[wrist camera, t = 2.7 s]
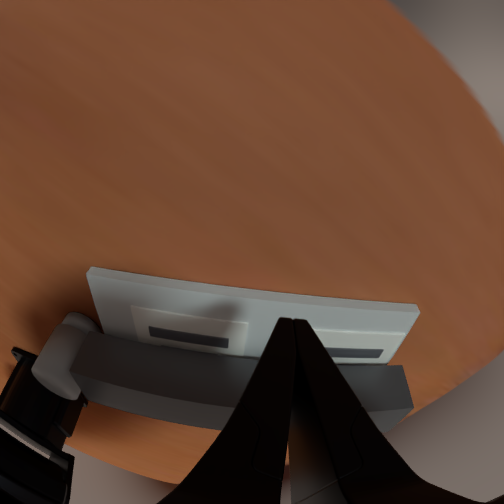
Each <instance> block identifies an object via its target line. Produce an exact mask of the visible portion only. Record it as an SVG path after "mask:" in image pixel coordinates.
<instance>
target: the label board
mask: <svg viewBox="0 0 504 504" xmlns="http://www.w3.org/2000/svg"><path fill="white" fill-rule="evenodd" d="M86 276H87V280H88V283H89V287H90V290H91V294H92V297H93V300H94V304H95V307H96V310H97V313H98V316H99V319H100V322H101V325H102V328H103V331H104V334H105V335H110V336H114V337H118V338H123V339H127V340H132V341H137V342H141V343H146V344H151V345H157V346H162V347H167V348H173V349H179V350H185V351H191V352H197V353H204V354H211V355H218V356H226V357H234V358H243V359H252V360H259V359H260V357H261V354H262V352H263V350H264V348H265V346H266V344H267V342H268V340H269V338H270V335H271V333H272V331H273V329H274V327H275V325H276V322H277V320H278V318H279V317H287V318H292V320H293V319H294V318H298V319H306V320H307V321H308V322H309V324H310V325H311V327H312V328H313V330H314V331H315V333H316V334H317V336H318V338H319V339H320V341H321V342H322V344H323V345H324V347H325V348H326V350H327V351H328V353H329V354H330V356H331V357H332V359H333V361H334V362H335V364H336V365H346V366H386V365H387V364H388V362H389V361H390V359H391V358H392V357H393V355H394V354H395V352H396V351H397V349H398V348H399V346H400V345H401V343H402V341H403V340H404V338H405V337H406V335H407V334H408V332H409V330H410V329H411V327H412V325H413V324H414V322H415V321H416V319H417V317H418V315H419V314H420V311H419V309H418V307H417V305H416V304H405V303H391V302H377V301H365V300H353V299H341V298H330V297H320V296H309V295H299V294H290V293H280V292H271V291H262V290H254V289H245V288H237V287H229V286H221V285H213V284H205V283H198V282H190V281H183V280H176V279H169V278H162V277H155V276H148V275H142V274H135V273H129V272H122V271H116V270H110V269H104V268H98V267H92V266H91V268H90V269H89V270H88V272H87V273H86ZM61 324H67V325H70V326H73V327H75V328H77V329H78V330H80V331H82V332H83V333H84V334H86V335H87V334H88V332H89V331H93V332H97V333H101V331H100V329H99V327H98V326H97V325H96V324H95V323H94V322H93V321H92V320H91V319H90V318H88V317H87V316H85V315H83V314H80V313H77V312H70V313H68V314H67V315H66V317H65V319H64V320H63V322H62V323H61Z"/></svg>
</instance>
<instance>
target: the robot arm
mask: <svg viewBox="0 0 504 504" xmlns="http://www.w3.org/2000/svg"><path fill="white" fill-rule="evenodd" d="M11 352H12V354H13V356H14V357H15V358H16V360H17V361H18V363H17V365H16V367H15V368H14V370H13V372H12V374H11V376H10V377H9V379H8V381H7V383H6V385H5V387H4V389H3V391H2V393H1V395H0V423H1V424H2V425H4V426H5V427H6V428H8V429H9V430H10V431H12V432H13V433H15V434H16V435H17V436H19V437H20V438H22V439H23V440H25V441H26V442H28V443H29V444H31V445H33V446H34V447H36V448H37V449H39V450H41V451H42V452H44V453H46V454H48V455H49V456H50V458H49V459H47V458H46V457H44V456H42V455H41V454H39V453H37V452H36V451H34V450H32V449H31V448H29V447H28V446H26V445H25V444H23V443H22V442H20V441H18V440H17V439H16V438H14V437H12V436H11V435H10V434H8V433H7V432H6V431H4V430H3V429H1V428H0V504H69V500H70V494H71V483H72V475H73V467H74V458H75V457H74V456H72V455H70V454H68V453H65V452H63V451H62V448H63V445H64V442H65V439H66V437H71V436H72V434H73V431H74V428H75V425H76V423H77V420H78V418H79V415H80V412H81V410H82V407H87V405H88V402H87V401H86V399H85V398H84V396H83V395H82V393H81V392H80V394H79V396H78V399H76V400H70V399H66V398H63V397H61V396H59V395H57V394H55V393H53V392H52V391H50V390H49V389H47V388H46V387H45V386H43V385H42V384H41V383H40V382H39V381H38V380H37V379H36V378H35V376H34V375H33V373H32V370H31V369H32V367H33V365H34V363H35V361H36V360H37V358H38V357H36V356H34V355H31V354H29V353H26V352H24V351H21V350H19V349H17V348H14V347H13V349H12V350H11ZM361 406H362V404H361V402H360V401H359V399H358V398H357V396H356V394H355V393H354V391H353V390H352V388H351V387H350V385H349V384H348V382H347V381H346V379H345V377H344V376H343V374H342V373H341V371H340V370H339V368H338V367H337V365H336V364H335V362H334V361H333V359H332V357H331V356H330V354H329V353H328V351H327V350H326V348H325V347H324V345H323V344H322V342H321V341H320V339H319V338H318V336H317V334H316V333H315V331H314V330H313V328H312V327H311V325H310V324H309V322H308V321H307V320H306V319H298V318H294V319H293V320H292V318H287V317H279V318H278V320H277V322H276V325H275V327H274V329H273V331H272V333H271V335H270V338H269V340H268V342H267V344H266V346H265V348H264V350H263V352H262V354H261V357H260V359H259V361H258V363H257V365H256V367H255V369H254V371H253V373H252V375H251V377H250V379H249V381H248V383H247V385H246V387H245V389H244V391H243V393H242V395H241V397H240V399H239V402H238V403H237V405H236V407H235V409H234V411H233V413H232V414H231V416H230V418H229V420H228V421H227V423H226V425H225V427H224V428H223V430H222V431H221V432H220V434H219V435H218V437H217V438H216V440H215V441H214V442H213V444H212V445H211V446H210V448H209V449H208V450H207V451H206V453H205V454H204V455H203V457H202V458H201V459H200V460H199V462H198V463H197V464H196V465H195V467H194V468H193V469H192V470H191V472H190V473H189V474H188V475H187V476H186V477H185V479H184V480H183V481H182V482H181V483H180V484H179V485H178V486H177V487H176V488H175V489H174V490H173V491H172V492H170V493H169V494H168V495H167V496H166V497H164V498H163V499H162V500H161V501H159V502H158V503H157V504H280V497H281V487H282V480H283V474H284V466H285V459H286V451H287V443H288V449H289V467H290V484H291V504H504V495H502V496H499V497H497V498H495V499H493V500H491V501H488V502H486V503H484V502H477V501H473V500H471V499H468V498H465V497H463V496H460V495H457V494H455V493H452V492H450V491H447V490H445V489H442V488H440V487H437V486H435V485H433V484H430V483H428V482H426V481H425V480H423V479H422V478H420V477H419V476H418V475H417V474H416V473H415V472H414V471H413V470H412V469H411V468H410V467H409V466H408V465H407V463H406V462H405V461H404V460H403V459H402V457H401V456H400V455H399V454H398V453H397V451H396V450H395V449H394V448H393V447H392V446H391V444H390V443H389V442H388V441H387V439H386V438H385V437H384V435H382V433H381V432H380V430H379V429H378V428H377V426H376V425H375V423H374V422H373V420H372V419H371V417H370V416H369V414H368V413H367V411H366V410H365V408H364V407H363V406H362V407H361Z"/></svg>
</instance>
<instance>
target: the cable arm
mask: <svg viewBox="0 0 504 504" xmlns="http://www.w3.org/2000/svg"><path fill="white" fill-rule="evenodd" d="M258 361H259V360H252V359H243V358H234V357H226V356H218V355H211V354H204V353H197V352H191V351H185V350H179V349H173V348H167V347H162V346H157V345H151V344H146V343H141V342H137V341H132V340H127V339H123V338H118V337H114V336H110V335H105V334H101V333H97V332H93V331H89V332H88V334H87V335H86V334H84V333H83V332H82V331H80V330H78V329H77V328H75V327H73V326H70V325H67V324H58V325H57V326H56V327H55V329H54V330H53V332H52V334H51V335H50V337H49V339H48V340H47V342H46V344H45V345H44V347H43V349H42V351H41V352H40V354H39V356H38V358H37V360H36V361H35V363H34V365H33V367H32V369H31V370H32V373H33V375H34V376H35V378H36V379H37V380H38V381H39V382H40V383H41V384H42V385H43V386H45V387H46V388H47V389H49V390H50V391H52V392H53V393H55V394H57V395H59V396H61V397H63V398H66V399H70V400H76V399H78V396H79V394H80V392H81V391H82V392H83V394H84V396H85V397H86V398H87V400H89V401H92V402H95V403H99V404H102V405H105V406H108V407H112V408H115V409H119V410H122V411H126V412H130V413H133V414H137V415H141V416H146V417H150V418H154V419H159V420H163V421H168V422H173V423H178V424H184V425H189V426H195V427H201V428H208V429H215V430H223V428H224V427H225V425H226V423H227V421H228V420H229V418H230V416H231V414H232V413H233V411H234V409H235V407H236V405H237V403H238V402H239V399H240V397H241V395H242V393H243V391H244V389H245V387H246V385H247V383H248V381H249V379H250V377H251V375H252V373H253V371H254V369H255V367H256V365H257V363H258ZM337 367H338V368H339V370H340V371H341V373H342V374H343V376H344V377H345V379H346V381H347V382H348V384H349V385H350V387H351V388H352V390H353V391H354V393H355V394H356V396H357V398H358V399H359V401H360V402H361V404H362V406H363V407H364V408H365V410H366V411H367V413H368V414H369V416H370V417H371V419H372V420H373V422H374V423H375V425H376V426H377V428H378V429H379V430H380V432H388V431H390V430H391V429H392V428H393V427H394V426H395V425H396V424H397V423H398V422H400V421H401V420H402V419H403V418H404V417H405V416H406V415H407V414H408V413H409V412H410V411H411V410H412V409H413V408H414V406H413V402H412V398H411V395H410V391H409V387H408V384H407V380H406V377H405V373H404V370H403V367H402V365H394V366H346V365H337ZM362 406H361V407H362Z"/></svg>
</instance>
